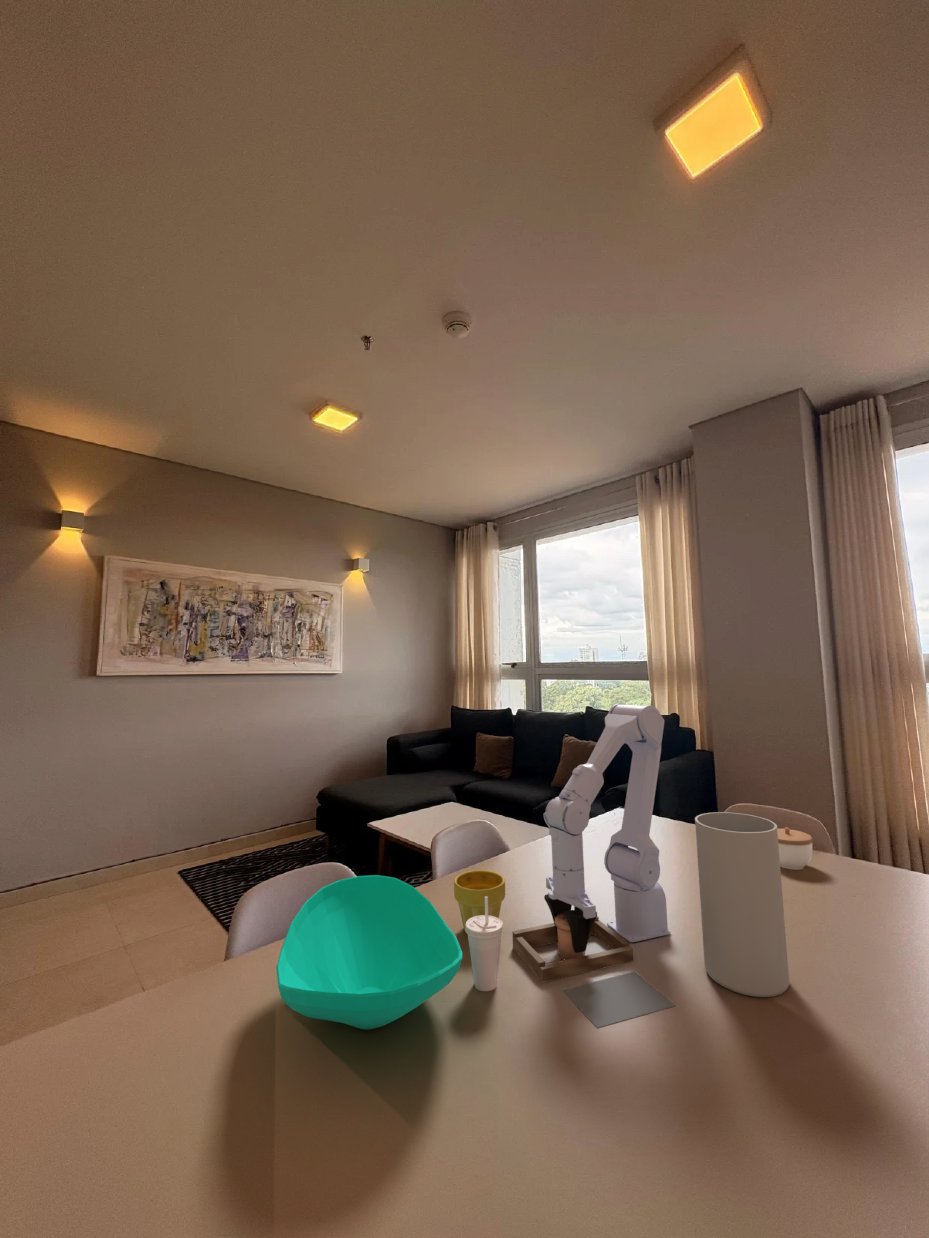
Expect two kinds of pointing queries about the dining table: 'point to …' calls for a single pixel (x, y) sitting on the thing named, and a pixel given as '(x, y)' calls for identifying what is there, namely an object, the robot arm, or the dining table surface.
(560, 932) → the terracotta pot
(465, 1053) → the dining table surface
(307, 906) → the table top decor
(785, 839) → the lidded jar
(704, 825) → the cylinder vase
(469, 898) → the plant pot
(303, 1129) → the dining table surface
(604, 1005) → the potting mat
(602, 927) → the cold frame
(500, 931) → the smoothie
